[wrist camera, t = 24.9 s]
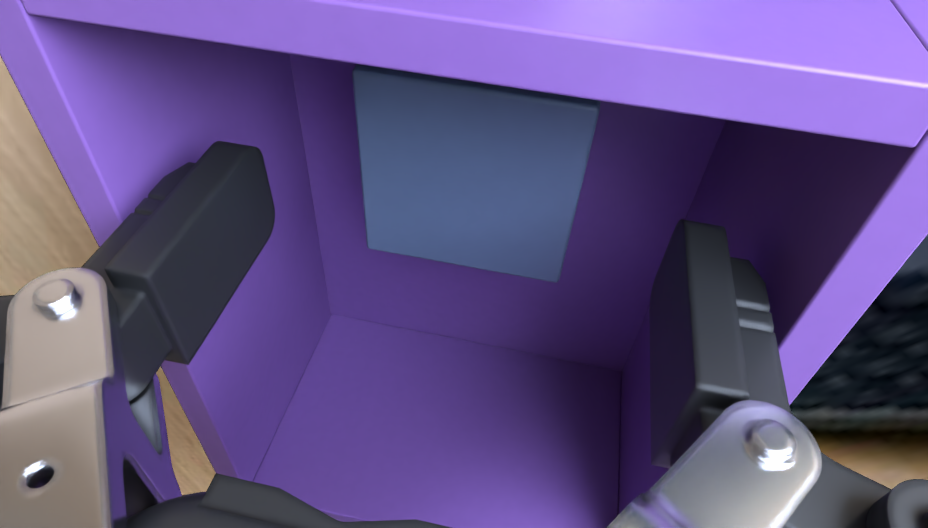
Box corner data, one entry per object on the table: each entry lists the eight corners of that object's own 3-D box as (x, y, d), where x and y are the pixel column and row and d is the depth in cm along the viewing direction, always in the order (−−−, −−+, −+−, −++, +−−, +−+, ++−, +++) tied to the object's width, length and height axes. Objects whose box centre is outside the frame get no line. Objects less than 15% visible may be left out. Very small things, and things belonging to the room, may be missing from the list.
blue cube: (414, -21, 14) (349, 70, 11) (609, 5, 14) (600, 108, 11) (415, 143, 18) (365, 250, 14) (573, 169, 17) (558, 285, 14)
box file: (237, -176, 14) (-60, -56, 8) (850, -108, 12) (1038, 100, 6) (321, 308, 25) (227, 498, 20) (638, 370, 24) (637, 594, 18)
